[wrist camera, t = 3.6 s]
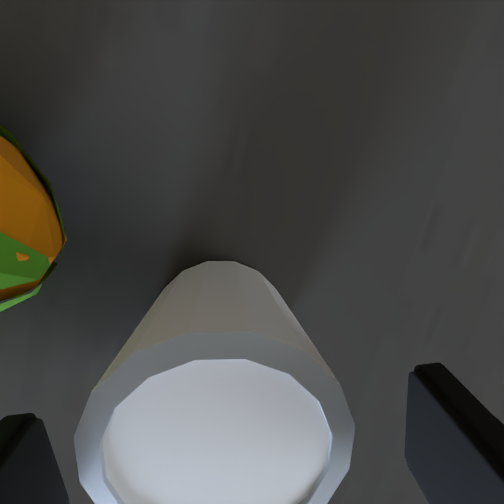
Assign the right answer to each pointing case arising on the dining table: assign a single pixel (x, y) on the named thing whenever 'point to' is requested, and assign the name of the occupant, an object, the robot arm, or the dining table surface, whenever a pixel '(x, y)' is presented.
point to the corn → (25, 223)
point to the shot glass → (216, 402)
